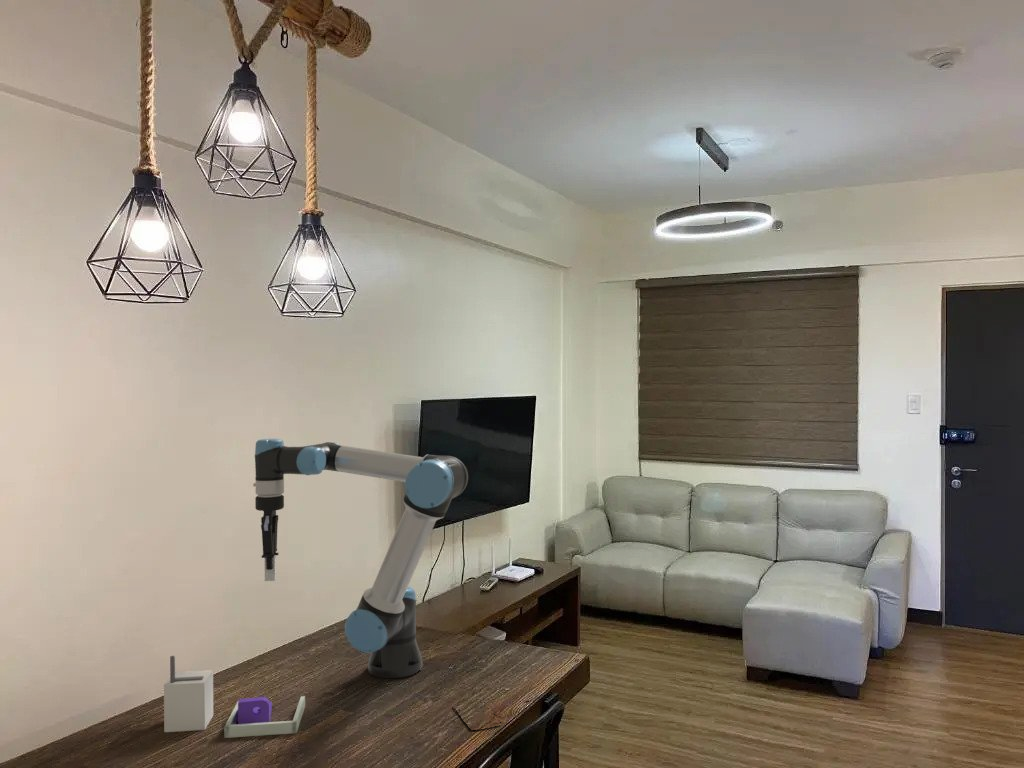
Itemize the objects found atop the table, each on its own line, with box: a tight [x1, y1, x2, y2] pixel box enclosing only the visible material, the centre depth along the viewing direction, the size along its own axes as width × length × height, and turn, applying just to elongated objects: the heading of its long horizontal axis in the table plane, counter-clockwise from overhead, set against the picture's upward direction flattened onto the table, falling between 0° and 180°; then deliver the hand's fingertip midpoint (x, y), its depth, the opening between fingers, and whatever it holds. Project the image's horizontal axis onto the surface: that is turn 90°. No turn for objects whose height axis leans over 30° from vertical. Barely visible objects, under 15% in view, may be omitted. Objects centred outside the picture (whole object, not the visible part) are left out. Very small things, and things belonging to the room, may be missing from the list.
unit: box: [163, 655, 214, 733], centre depth 183 cm, size 9×8×17 cm
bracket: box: [237, 696, 273, 724], centre depth 185 cm, size 12×7×7 cm, turn 14°
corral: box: [223, 695, 306, 739], centre depth 183 cm, size 16×15×2 cm
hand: (270, 580), depth 212 cm, fingers closed
